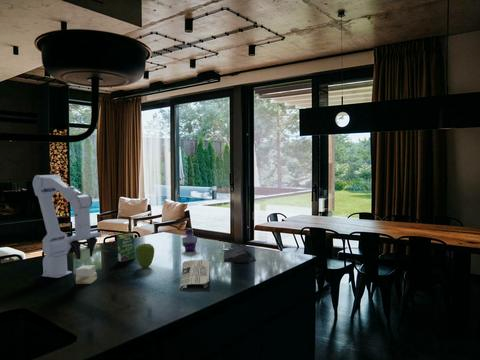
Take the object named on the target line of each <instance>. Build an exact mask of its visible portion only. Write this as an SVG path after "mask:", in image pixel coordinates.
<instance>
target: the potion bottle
mask: <svg viewBox="0 0 480 360" xmlns="http://www.w3.org/2000/svg"><path fill="white" fill-rule="evenodd" d="M194 232H195V231H194V230H193V228H190V227H189V228H186V229H185V235H186V236H184V237H181V241H182V242H181V243H182V247H184V252H187V253H192V252H195V251H196V246H197V244H198V237H197V236H195V235H193V234H194Z"/></svg>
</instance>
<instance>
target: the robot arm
mask: <svg viewBox="0 0 480 360" xmlns="http://www.w3.org/2000/svg"><path fill="white" fill-rule="evenodd" d="M32 188H33V192H34V195H35V196H36V197H37V198H38V203H39V205H40V211H41V214H42V218H43V222H44V226H45V230H46V235H45V236H44V237H43V239H42V240H41V241H42V251H43V253H44V255H45V256H44V257H43V259H42V269H43V270H42V271H43V272H42V273H43V274H42V275H41V277H48V278H55V279H56V278H57V279H58V278H61V277H64V276H67V275H70V274H72V273H73V271H71V270H68V258H67V257H68V255H67V254H69V251H70V250H71V249H72V250H73V253H74V255H75V259H76V260H78V259H80V248H81V242H80V241H84V240H85V241H86V248H90V258H91V257H93V255H94V250H95V246H96V244H97V242H98V239H97V238H102V232H100V231H98V232H91V215H90V211H91V210H90V208H92V205H93V197H92V196H91V195H90V194H88V193H82V192H81V191H80V190H78V189H77V188H76V187H75V186H74V185H71V186H70V185H69V186H68V185H67V184H66V183H65V182H64V181H63V180H62V176H60V175H59V174H58V173H56V174H42V175H41V174H36V175H34V178H33V179H32ZM57 192H60V193H61V195H62V198H64V199H65V200H66V201H67V202H69V204H70V207H71V210H72V214H73V215H74V216H73V217H74V234H75V235H71V236H68V234H67V233H66V232H63V231H61V227H60V225H59V219H58V217H57V213H56V209H55V208H56V207H55V205H54V204H55V203H54V201H53V196H54V195H55V194H56V193H57Z"/></svg>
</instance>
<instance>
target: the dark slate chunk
mask: <svg viewBox="0 0 480 360" xmlns="http://www.w3.org/2000/svg"><path fill="white" fill-rule="evenodd" d="M255 261H256V257H255V256H254V255H253V253H252V252H251V250H250V249H249V248H248V247H247V246H240V245H237V246H234V247H231V248H228V249H226V250H224V252H223V262H224V263H228V264H230V263H232V264H233V263H238V264H240V263H247V262H248V263H250V262H255Z"/></svg>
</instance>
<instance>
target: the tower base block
mask: <svg viewBox="0 0 480 360" xmlns="http://www.w3.org/2000/svg"><path fill="white" fill-rule="evenodd" d="M97 279H98V273H97V272H96V271H95V273H94V274H93V275H91V276H88V277H76V276H75V284H76V285H78V284H79V285H83V284H86V285H88V284H92V283H93V282H95V281H96V280H97Z"/></svg>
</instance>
